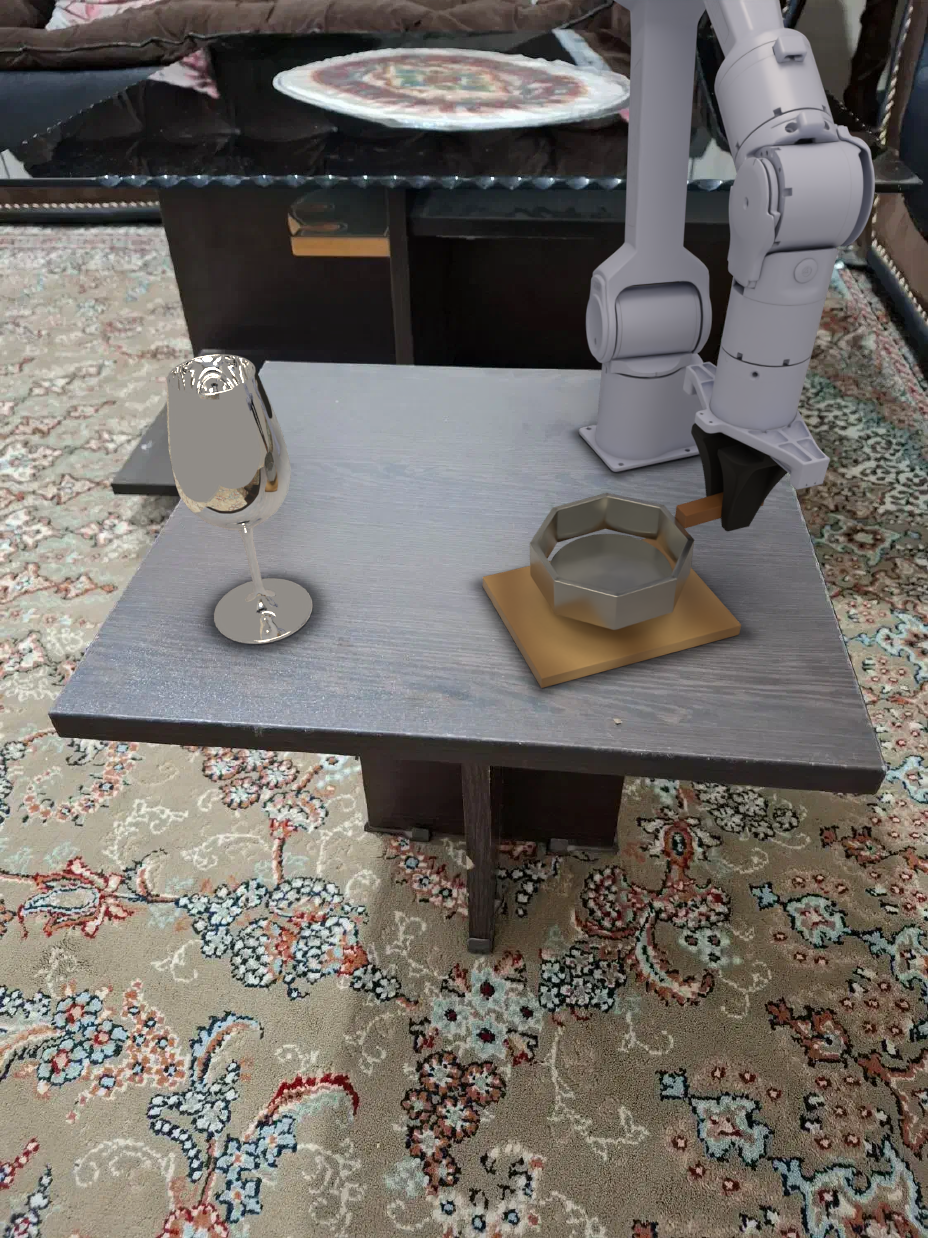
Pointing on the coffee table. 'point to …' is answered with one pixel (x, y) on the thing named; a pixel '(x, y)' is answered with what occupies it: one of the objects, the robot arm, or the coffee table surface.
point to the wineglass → (234, 481)
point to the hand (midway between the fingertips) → (728, 518)
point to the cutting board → (602, 628)
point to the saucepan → (616, 557)
